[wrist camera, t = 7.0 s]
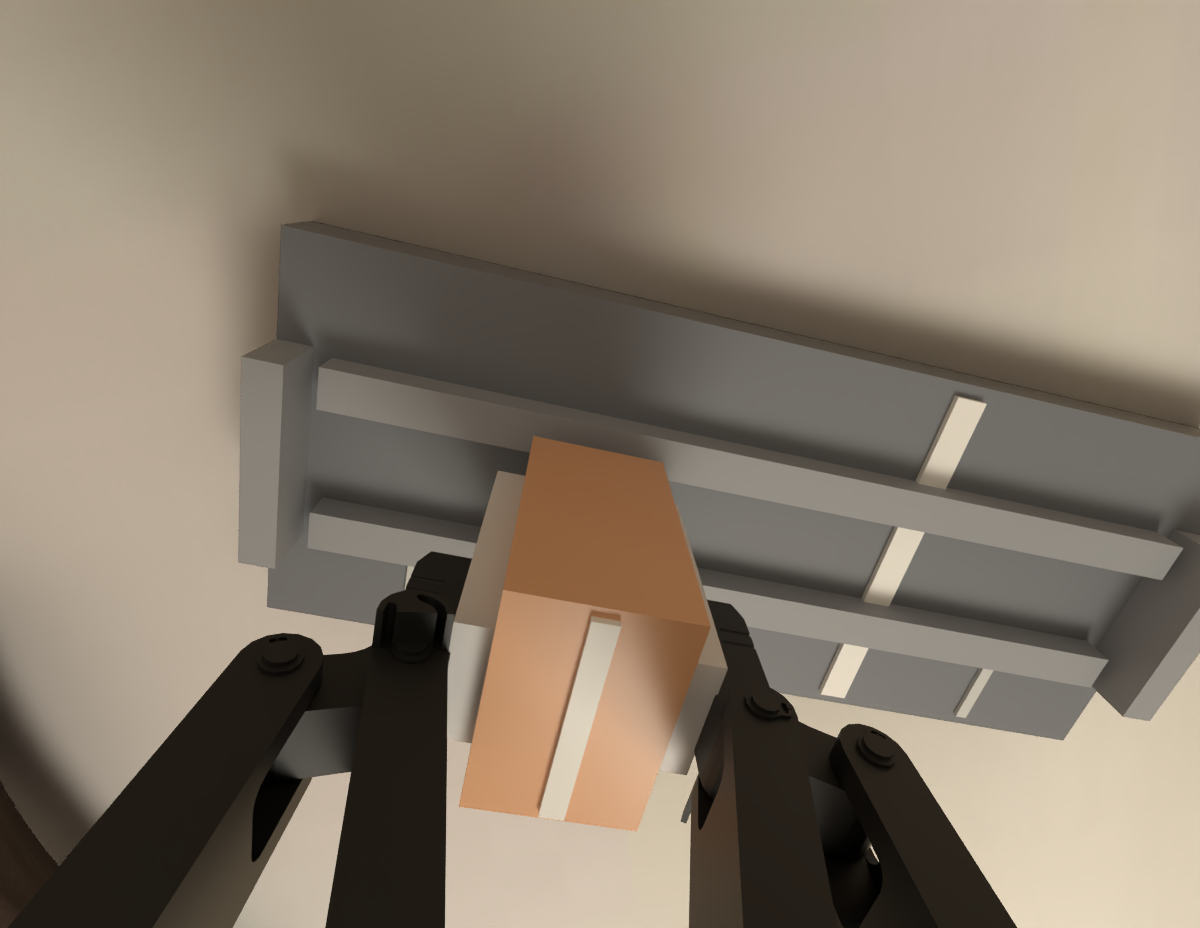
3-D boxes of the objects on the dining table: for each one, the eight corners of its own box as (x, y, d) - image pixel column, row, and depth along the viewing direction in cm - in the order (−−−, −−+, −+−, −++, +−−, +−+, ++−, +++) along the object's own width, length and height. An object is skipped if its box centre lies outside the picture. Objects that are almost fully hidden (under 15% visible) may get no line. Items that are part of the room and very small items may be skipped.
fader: (538, 413, 18) (501, 594, 10) (655, 438, 19) (712, 632, 11) (507, 560, 20) (457, 813, 12) (615, 580, 21) (637, 838, 13)
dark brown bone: (-187, 513, 24) (236, 890, 38) (-714, 770, 16) (54, 1124, 30) (-86, 525, 19) (365, 960, 32) (-802, 916, 11) (182, 1267, 25)
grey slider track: (311, 221, 18) (243, 229, 15) (1200, 428, 22) (1327, 478, 18) (292, 573, 23) (236, 647, 19) (1029, 701, 26) (1102, 785, 22)
